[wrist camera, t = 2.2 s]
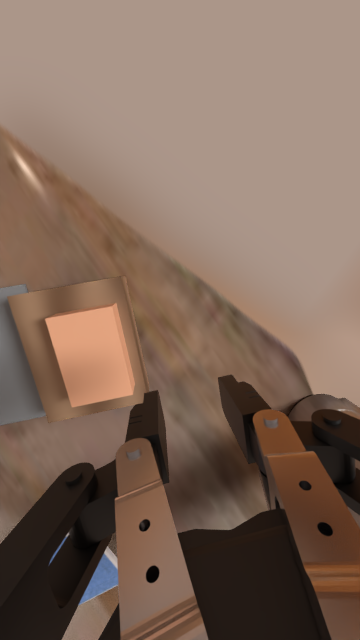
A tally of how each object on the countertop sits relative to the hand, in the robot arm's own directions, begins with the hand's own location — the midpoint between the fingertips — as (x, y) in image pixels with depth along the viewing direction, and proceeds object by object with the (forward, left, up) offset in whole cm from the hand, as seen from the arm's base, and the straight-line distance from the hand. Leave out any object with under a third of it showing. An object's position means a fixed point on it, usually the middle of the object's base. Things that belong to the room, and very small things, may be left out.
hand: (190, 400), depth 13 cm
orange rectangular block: (+8, 0, -12) cm, 14 cm away
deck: (+10, 0, -17) cm, 20 cm away
